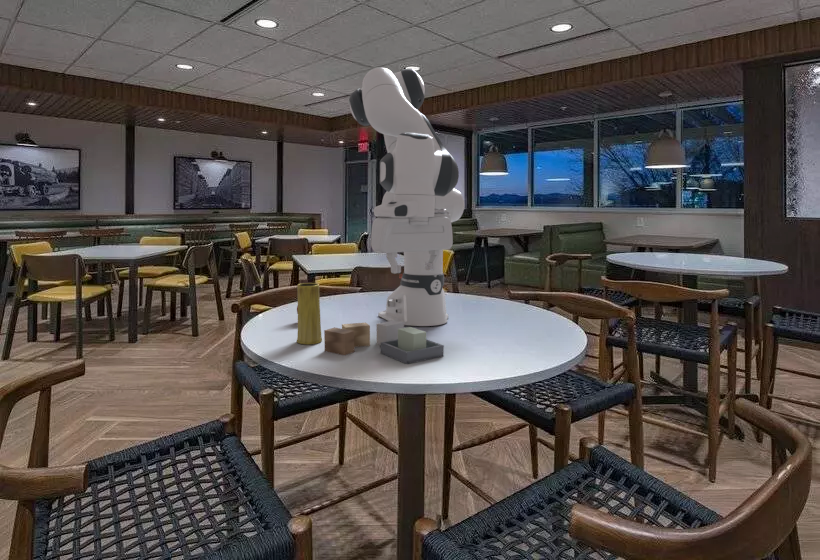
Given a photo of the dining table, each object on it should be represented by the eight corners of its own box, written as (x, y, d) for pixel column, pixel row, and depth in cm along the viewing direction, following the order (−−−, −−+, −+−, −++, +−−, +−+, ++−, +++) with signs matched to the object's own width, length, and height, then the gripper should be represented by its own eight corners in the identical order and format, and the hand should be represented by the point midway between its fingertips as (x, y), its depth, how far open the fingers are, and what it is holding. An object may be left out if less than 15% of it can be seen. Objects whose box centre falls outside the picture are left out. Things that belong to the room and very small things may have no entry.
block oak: (345, 348, 123) (345, 327, 122) (342, 344, 126) (341, 324, 125) (369, 345, 125) (369, 325, 124) (365, 342, 128) (365, 322, 127)
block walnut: (324, 351, 120) (324, 330, 119) (334, 348, 123) (334, 327, 122) (344, 355, 116) (344, 334, 116) (354, 352, 119) (354, 330, 119)
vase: (310, 346, 124) (308, 287, 122) (291, 342, 127) (289, 284, 125) (326, 340, 129) (326, 283, 127) (308, 337, 132) (307, 281, 130)
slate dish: (380, 352, 118) (380, 342, 118) (416, 346, 124) (416, 336, 124) (406, 364, 110) (406, 352, 110) (443, 356, 116) (443, 345, 116)
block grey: (386, 346, 124) (386, 326, 124) (376, 343, 127) (376, 323, 126) (403, 341, 129) (404, 322, 128) (394, 339, 131) (394, 320, 130)
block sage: (397, 350, 119) (398, 328, 118) (410, 347, 121) (410, 326, 120) (413, 356, 114) (413, 334, 113) (426, 353, 116) (426, 332, 115)
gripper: (441, 208, 121) (440, 267, 124) (367, 208, 109) (367, 273, 111) (459, 209, 116) (458, 270, 119) (383, 208, 104) (383, 276, 106)
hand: (413, 271), depth 115 cm, fingers open, 8 cm apart
